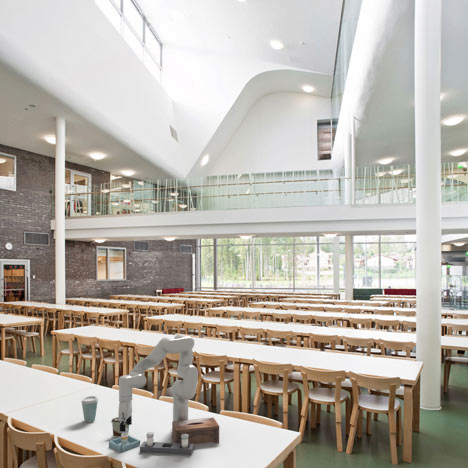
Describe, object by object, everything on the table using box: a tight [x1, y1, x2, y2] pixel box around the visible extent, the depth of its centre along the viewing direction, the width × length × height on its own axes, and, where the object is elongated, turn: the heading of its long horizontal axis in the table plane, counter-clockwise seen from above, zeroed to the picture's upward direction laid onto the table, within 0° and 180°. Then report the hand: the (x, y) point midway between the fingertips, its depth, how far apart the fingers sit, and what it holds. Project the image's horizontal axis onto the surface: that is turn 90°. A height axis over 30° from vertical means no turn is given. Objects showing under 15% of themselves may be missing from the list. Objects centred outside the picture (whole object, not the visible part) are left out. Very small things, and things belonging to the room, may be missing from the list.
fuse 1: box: [146, 431, 155, 447], centre depth 238 cm, size 4×4×9 cm
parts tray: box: [108, 434, 141, 453], centre depth 244 cm, size 13×13×4 cm
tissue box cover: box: [171, 416, 220, 445], centre depth 253 cm, size 26×14×10 cm, turn 106°
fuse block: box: [139, 441, 195, 456], centre depth 236 cm, size 29×7×4 cm, turn 83°
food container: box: [111, 417, 130, 438], centre depth 261 cm, size 12×6×10 cm, turn 74°
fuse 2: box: [181, 434, 189, 448], centre depth 235 cm, size 4×4×9 cm
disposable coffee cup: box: [81, 395, 99, 423], centre depth 285 cm, size 11×11×15 cm
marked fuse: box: [121, 428, 129, 446], centre depth 244 cm, size 4×4×9 cm
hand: (125, 427), depth 245 cm, fingers open, 9 cm apart
